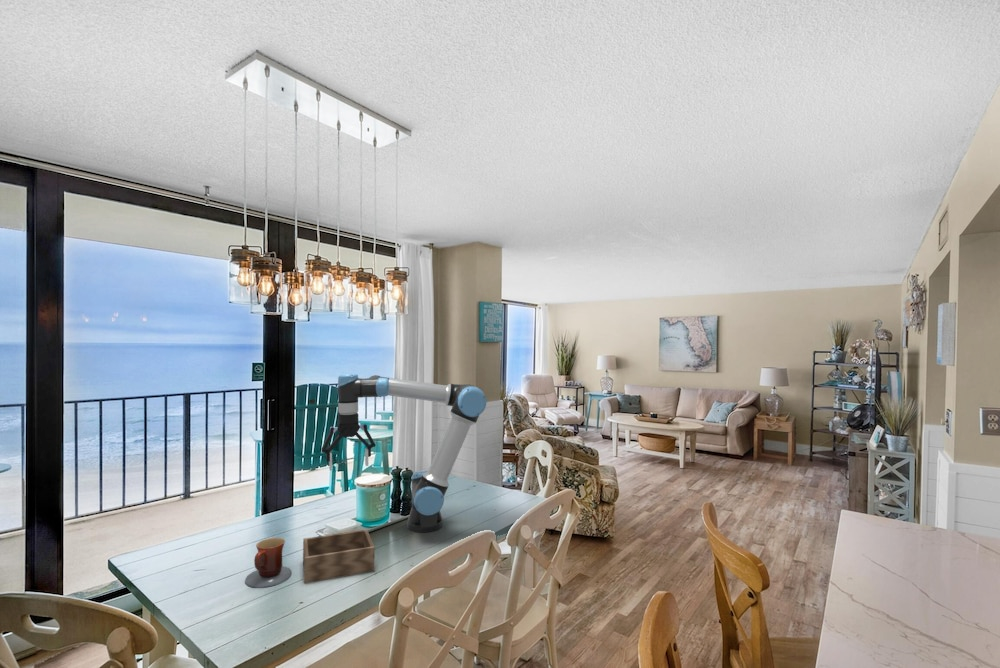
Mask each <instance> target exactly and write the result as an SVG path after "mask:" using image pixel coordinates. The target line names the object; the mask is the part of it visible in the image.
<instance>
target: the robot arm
mask: <svg viewBox="0 0 1000 668" xmlns="http://www.w3.org/2000/svg"><path fill="white" fill-rule="evenodd" d="M337 380H338V381H337V398H338V399H337V402H338V403H337V405H338V407H337V408H338V409H337V411H338V414H337V415H338V416H337V417H338V420H337V422H338V426H330V427H329V433H328V434H327V435H326V436H327V437H326V439H325V441H324V443H323V444H322V447H321V449H320V451H321V453H325V457H326V459H325V460H326V462H328V464H329V471H333V453H332V450H333V449H334V448H335V447H336V446H337V444H338V443H339V442H340V441H341V440H342V438H345V439H346V438H353V437H357V438H358V440H359V441H361V443H363V445H364V446H365V447H366V448H365V447H364V448H365V449H364V458H365V459H364V462H365V463H364V464H365V466H366V467H369V458H371V456H372V448H375V447H376V443H375V441H374V439H373V438H372V435H371V434H370V432H369V430H368V425H367V424H366V423H363V424H359V413H358V412H359V398H382V397H388V396H389V397H398V398H405V399H413V400H421V401H427V402H434V403H435V402H437V403H443V404H445V406H449V407H451V410H450V412H449V413H450V415H451V418H450V420H449V423H448V425H447V427H446V429H445V432H444V433H443V437H442V439H441V441H440V443H439V445H438V447H437V450H436V453H435V454H434V457H433V459H432V461H431V463H430V466H429V468H428V470H422V471H415V472H414V473H412V475H411V509H410V512H409V515H408V518H407V524H406V526H407V529H408V530H410V531H411V532H418V533H428V532H434V531H437V530H439V529H441V528H442V527H443V523H444V522H443V517H442V513H441V509H442V508H443V506H444V503H445V495H446V493H447V491H448V489H449V487H450V486H449V485H450V484H449V482H448V479H449V476H450V474H451V471H452V470H453V467H454V465H455V463H456V460H457V458H458V456H459V454H460V451H461V450H462V447H463V445H464V442H465V440H466V438H467V435H468V433H469V431H470V428H471V426H473V425H474V424H475V425H476V424H477V421H478V419H479V417H480V415H481V414H483V413H484V411H485V410H486V408H487V398H486V397H487V396H486V395H485V393H484V391H483V390H482V389H481V388H479V387H478V386H474V385H473V384H457V383H456V384H455V383H449V384H447V385H444V384H438V383H437V384H436V383H433V382H431V383H430V382H422V381H416V380H411V379H410V380H408V379H400V378H396V377H395V378H392V377H385V376H380V375H376V374H375V375H371V376H370V377H368V378H359V375H358V374H357V373H341V374H339V375H338V377H337ZM360 429H361V430H362V431H363V432H364V434H365V436H366V437H367V440H368V441H369V443H368V442H367V441H366V440H365V439H364V438H363V437H362V435H360V434H359V430H360ZM336 432H338V434H337V436H336V437H335V439H334V440H333V441H332V442H331V440H332V437H333V436H334V434H335V433H336ZM330 442H331V444H330ZM329 444H330V445H329Z"/></svg>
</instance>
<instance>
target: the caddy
mask: <svg viewBox="0 0 1000 668" xmlns="http://www.w3.org/2000/svg"><path fill="white" fill-rule="evenodd" d="M302 539H303V541H302V542H303V544H302V545H303V547H302V566H303V583H304V584H308V583H312V582H318V581H325V580H329V579H330V580H331V579H335V578H340V577H347V576H352V575H357V574H363V573H369V572H370V573H371V572H375V551H376V549H375V545H374V543H373V541H372V538H371V535H370V533H369V530H368V529H361V530H353V531H349V532H339V533H334V534H327V535H319V536H312V537H305V538H302Z"/></svg>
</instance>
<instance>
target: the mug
mask: <svg viewBox="0 0 1000 668" xmlns="http://www.w3.org/2000/svg"><path fill="white" fill-rule="evenodd" d="M285 543H286V541H285V539H284V538H280V537H270V538H266V539H265V538H264V539H262V540H260V541H259V542H257V543H256V550H257V552H256V553H255V555H254V559H253V560H254V567H255V570H258V573H259V575H260V576H261V577H264V578H269V577H273V576H276V575H278V574H279V573H280V572H281V570H282V566H284V565H283V549H284V547H285V546H284V545H285Z"/></svg>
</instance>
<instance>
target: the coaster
mask: <svg viewBox="0 0 1000 668" xmlns="http://www.w3.org/2000/svg"><path fill="white" fill-rule="evenodd" d="M292 573H293V572H292V569H291V568H290V567H287V566H284V565H282V570H281V572H280V573H279V574H278V575H276V576H273V577H269V578H264V577H261V576H260V575H259V573H258V570H257V569H255V570H254V571H252V572H250V573H249V574H248V575H247V576H246V577H245V579H244V580H245V582H244V584H245V585H246V586H247V587H250V588H254V589H264V588H269V587H275V586H278V585H281V584H282V583H285V581H286V582H287V580H289V579H290V578H292V577H291V576H292Z"/></svg>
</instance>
